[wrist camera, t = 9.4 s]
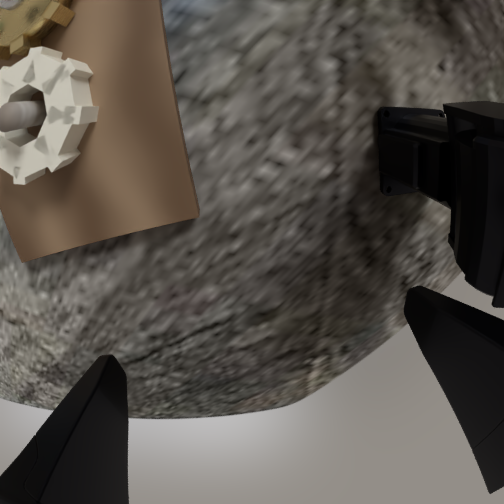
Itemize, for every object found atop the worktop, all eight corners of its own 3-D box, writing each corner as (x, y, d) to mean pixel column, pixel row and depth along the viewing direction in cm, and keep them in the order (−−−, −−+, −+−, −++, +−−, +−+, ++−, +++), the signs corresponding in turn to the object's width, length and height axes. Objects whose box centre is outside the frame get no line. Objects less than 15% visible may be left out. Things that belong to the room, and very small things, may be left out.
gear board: (153, -74, 7) (142, -115, 3) (199, 209, 18) (197, 247, 13) (-11, 6, 7) (-51, -4, 2) (30, 253, 17) (-4, 293, 12)
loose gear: (88, 35, 10) (71, 26, 8) (108, 149, 14) (92, 156, 12) (-3, 86, 10) (-26, 87, 8) (17, 186, 13) (-4, 199, 11)
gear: (88, -55, 6) (67, -80, 3) (89, 27, 10) (60, 9, 7) (-3, -2, 6) (-33, -12, 2) (-5, 80, 10) (-43, 82, 6)
